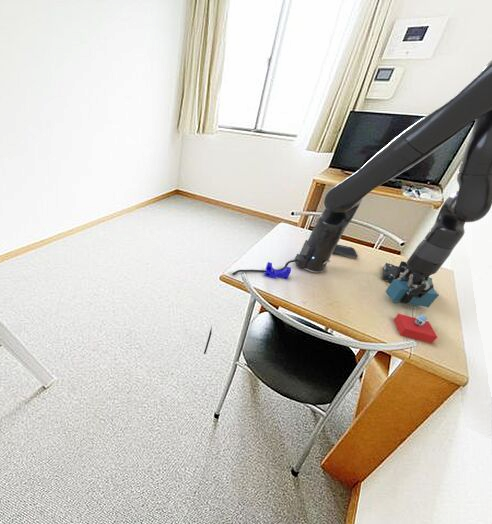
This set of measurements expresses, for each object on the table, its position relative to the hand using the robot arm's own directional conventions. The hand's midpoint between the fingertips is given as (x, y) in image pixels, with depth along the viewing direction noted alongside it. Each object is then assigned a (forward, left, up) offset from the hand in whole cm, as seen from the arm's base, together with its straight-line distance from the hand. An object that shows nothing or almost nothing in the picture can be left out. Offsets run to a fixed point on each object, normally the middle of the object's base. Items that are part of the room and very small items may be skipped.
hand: (398, 297), depth 102 cm
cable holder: (-39, +4, -3) cm, 39 cm away
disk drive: (+10, +15, -3) cm, 18 cm away
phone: (-10, +31, -2) cm, 32 cm away
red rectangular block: (-2, -14, -3) cm, 14 cm away
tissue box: (+2, 0, 0) cm, 3 cm away
